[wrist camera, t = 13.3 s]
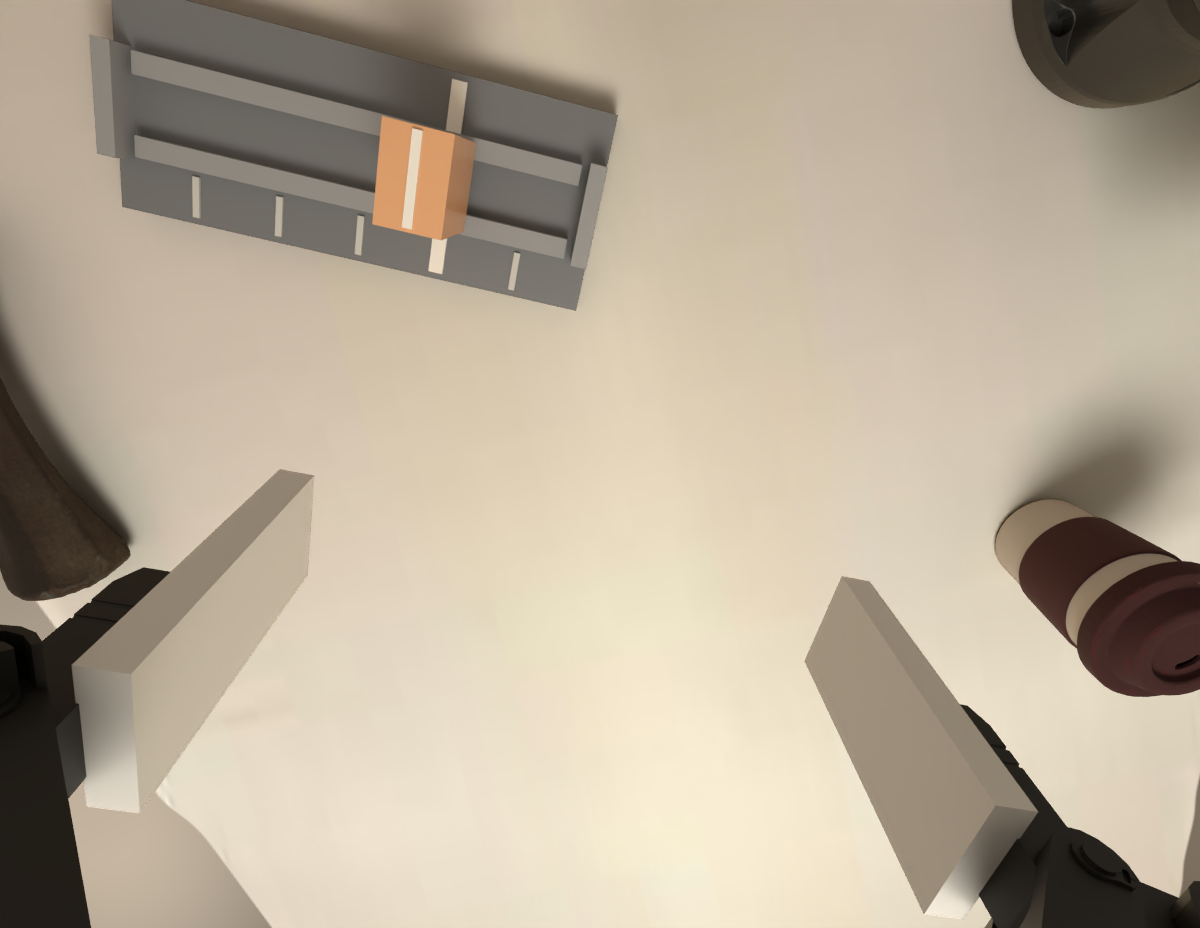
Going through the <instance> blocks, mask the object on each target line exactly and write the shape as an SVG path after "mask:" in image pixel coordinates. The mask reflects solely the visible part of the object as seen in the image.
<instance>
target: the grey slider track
mask: <svg viewBox="0 0 1200 928" xmlns="http://www.w3.org/2000/svg"><path fill="white" fill-rule="evenodd" d="M112 14H113V34H114V41H112V40H109V39H105V38H101V37H97V36H93V35H90V49H91V65H92V81H93V97H94V113H95V128H96V144H97V154H101V155H105V156H110V157H114V158H120V171H121V190H122V207H125V208H130V209H134V210H138V211H143V212H147V213H152V214H156V215H160V216H165V217H169V218H173V219H178V220H182V221H186V222H191V223H195V224H200V225H204V226H208V227H213V228H217V229H221V230H226V231H230V232H234V233H239V234H243V235H248V236H252V237H256V238H261V239H265V240H269V241H274V242H278V243H282V244H287V245H291V246H296V247H300V248H304V249H309V250H313V251H317V252H322V253H326V254H330V255H335V256H339V257H344V258H348V259H352V260H357V261H361V262H365V263H370V264H374V265H378V266H383V267H387V268H392V269H396V270H400V271H405V272H409V273H413V274H418V275H422V276H427V277H431V278H435V279H440V280H444V281H448V282H453V283H457V284H461V285H466V286H470V287H475V288H479V289H483V290H488V291H492V292H496V293H501V294H505V295H509V296H514V297H518V298H523V299H527V300H531V301H536V302H540V303H544V304H549V305H553V306H557V307H562V308H566V309H571V310H575V311H576V308H577V303H578V299H579V294H580V289H581V285H582V280H583V275H584V271H585V269H586V266H587V261H588V257H589V252H590V247H591V243H592V238H593V233H594V229H595V224H596V219H597V215H598V210H599V205H600V201H601V196H602V191H603V187H604V182H605V177H606V173H607V168H608V167H607V163H608V159H609V154H610V149H611V145H612V140H613V135H614V131H615V126H616V121H617V117H618V115H615V114H611V113H608V112H604V111H600V110H596V109H593V108H589V107H585V106H581V105H578V104H574V103H570V102H566V101H563V100H559V99H555V98H551V97H548V96H544V95H540V94H536V93H532V92H529V91H525V90H521V89H517V88H514V87H510V86H506V85H502V84H499V83H495V82H491V81H487V80H484V79H480V78H476V77H472V76H469V75H465V74H461V73H457V72H454V71H450V70H446V69H442V68H439V67H435V66H431V65H427V64H424V63H420V62H416V61H412V60H409V59H405V58H401V57H397V56H393V55H390V54H386V53H382V52H378V51H375V50H371V49H367V48H363V47H360V46H356V45H352V44H348V43H345V42H341V41H337V40H333V39H330V38H326V37H322V36H318V35H315V34H311V33H307V32H303V31H300V30H296V29H292V28H288V27H285V26H281V25H277V24H273V23H269V22H266V21H262V20H258V19H254V18H251V17H247V16H243V15H239V14H236V13H232V12H228V11H224V10H221V9H217V8H213V7H209V6H206V5H202V4H198V3H194V2H191V1H187V0H112ZM382 116H385V117H389V118H392V119H396V120H400V121H404V122H408V123H412V124H416V125H420V126H424V127H428V128H432V129H436V130H439V131H443V132H447V133H451V134H455V135H457V136H460V137H462V138H465V139H467V140H470V141H472V142H474V143H476V149H475V157H474V164H473V171H472V178H471V185H470V192H469V199H468V206H467V213H466V220H465V227H464V232H462V233H459V234H457V235H454V236H452V237H449V238H446V239H444V240H437V239H433V238H429V237H424V236H420V235H416V234H412V233H407V232H403V231H399V230H395V229H390V228H386V227H382V226H378V225H374V224H372V221H373V210H374V199H375V188H376V176H377V165H378V154H379V143H380V132H381V120H382Z"/></svg>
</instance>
